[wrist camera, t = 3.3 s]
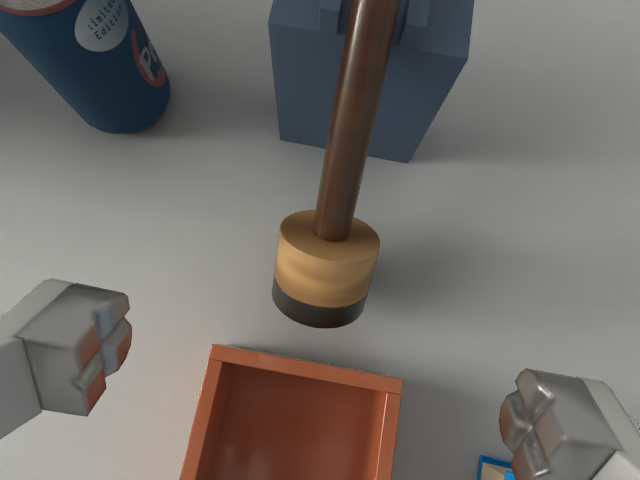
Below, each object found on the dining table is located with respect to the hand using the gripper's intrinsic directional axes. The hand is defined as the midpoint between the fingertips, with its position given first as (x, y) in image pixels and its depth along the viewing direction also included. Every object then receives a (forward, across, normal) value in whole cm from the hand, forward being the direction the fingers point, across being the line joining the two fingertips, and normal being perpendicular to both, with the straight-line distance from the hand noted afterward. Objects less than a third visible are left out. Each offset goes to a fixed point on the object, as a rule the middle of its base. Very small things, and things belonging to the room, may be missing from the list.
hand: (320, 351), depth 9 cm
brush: (+21, 0, +8) cm, 22 cm away
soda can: (+26, +17, +3) cm, 31 cm away
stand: (+26, 0, +2) cm, 26 cm away
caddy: (+10, 0, +18) cm, 21 cm away
